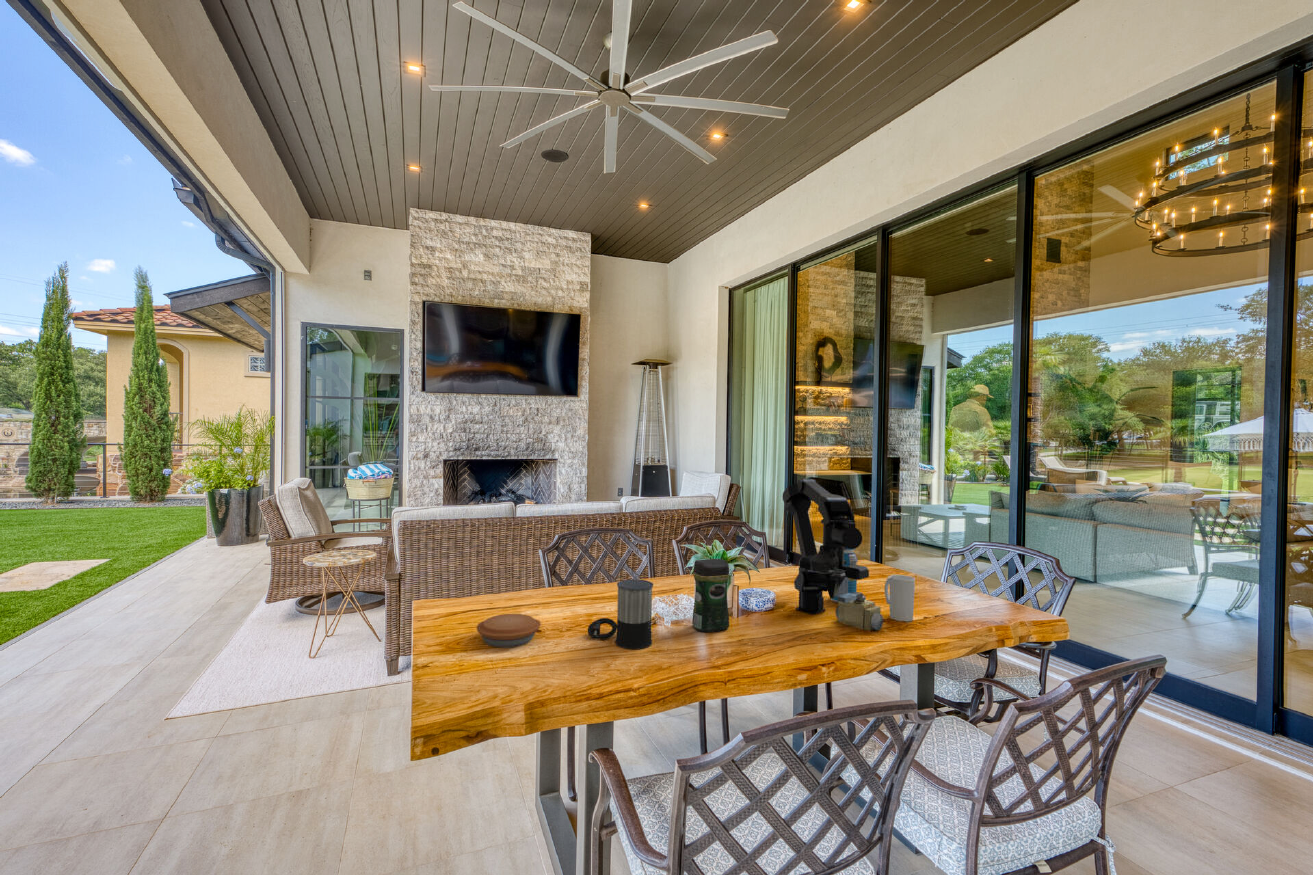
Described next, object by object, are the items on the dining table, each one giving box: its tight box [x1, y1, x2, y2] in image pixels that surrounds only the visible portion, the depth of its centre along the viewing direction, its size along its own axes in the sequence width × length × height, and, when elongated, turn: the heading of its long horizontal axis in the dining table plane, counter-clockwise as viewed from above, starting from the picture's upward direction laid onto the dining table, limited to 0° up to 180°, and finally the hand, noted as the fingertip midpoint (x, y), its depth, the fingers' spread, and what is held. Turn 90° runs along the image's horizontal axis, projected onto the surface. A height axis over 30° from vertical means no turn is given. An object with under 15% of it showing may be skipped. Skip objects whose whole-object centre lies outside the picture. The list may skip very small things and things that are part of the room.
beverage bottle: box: [829, 548, 859, 604], centre depth 185 cm, size 8×8×20 cm
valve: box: [835, 599, 884, 632], centre depth 161 cm, size 12×6×6 cm, turn 40°
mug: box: [884, 574, 916, 623], centre depth 169 cm, size 10×7×12 cm, turn 21°
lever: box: [837, 591, 867, 603], centre depth 158 cm, size 3×11×2 cm, turn 131°
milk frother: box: [587, 578, 654, 650], centre depth 144 cm, size 14×16×15 cm
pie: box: [476, 613, 542, 648], centre depth 143 cm, size 16×16×5 cm
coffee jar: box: [691, 558, 730, 633], centre depth 155 cm, size 10×8×19 cm
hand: (832, 598), depth 160 cm, fingers closed
